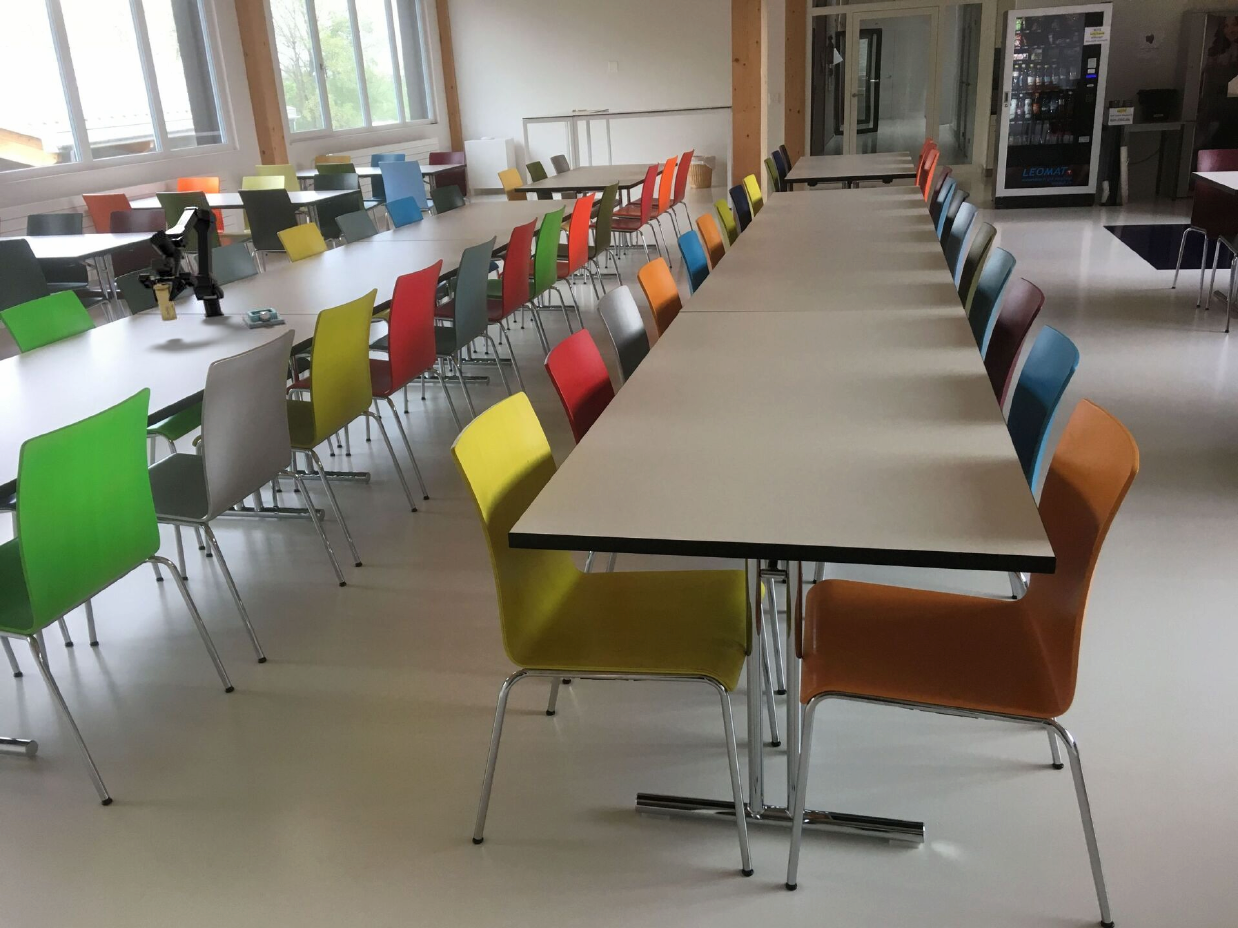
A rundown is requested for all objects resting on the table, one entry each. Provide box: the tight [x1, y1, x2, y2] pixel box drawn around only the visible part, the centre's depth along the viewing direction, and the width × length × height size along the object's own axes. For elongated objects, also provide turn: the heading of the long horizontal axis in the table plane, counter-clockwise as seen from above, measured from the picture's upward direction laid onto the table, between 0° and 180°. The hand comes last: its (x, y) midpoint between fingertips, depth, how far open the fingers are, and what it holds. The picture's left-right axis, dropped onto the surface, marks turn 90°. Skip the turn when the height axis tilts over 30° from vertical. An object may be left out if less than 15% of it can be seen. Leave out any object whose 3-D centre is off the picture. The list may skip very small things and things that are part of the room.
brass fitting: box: [153, 283, 178, 322], centre depth 330 cm, size 5×5×12 cm
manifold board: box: [241, 307, 286, 329], centre depth 347 cm, size 18×12×4 cm, turn 28°
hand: (163, 301), depth 328 cm, fingers closed on brass fitting, 5 cm apart
